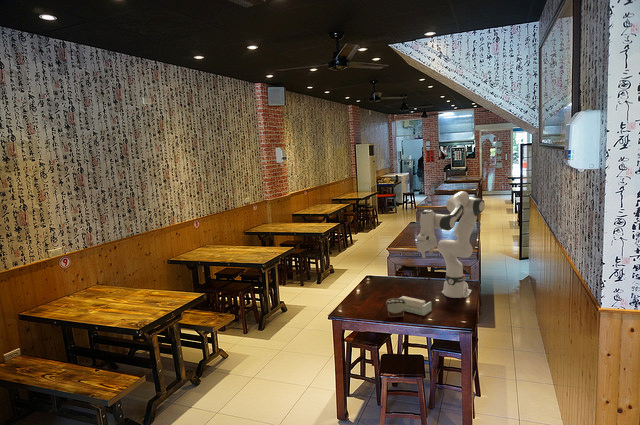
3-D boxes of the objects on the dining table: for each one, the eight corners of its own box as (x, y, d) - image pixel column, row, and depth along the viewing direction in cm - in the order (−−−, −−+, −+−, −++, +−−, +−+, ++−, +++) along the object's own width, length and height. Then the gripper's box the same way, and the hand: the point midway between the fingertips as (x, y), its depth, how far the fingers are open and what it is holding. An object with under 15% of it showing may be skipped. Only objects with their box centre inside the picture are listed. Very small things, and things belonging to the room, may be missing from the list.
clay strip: (404, 305, 283) (404, 296, 282) (425, 309, 273) (425, 300, 272) (401, 306, 280) (401, 298, 279) (422, 311, 270) (422, 302, 269)
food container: (403, 312, 272) (403, 297, 271) (406, 316, 266) (405, 300, 265) (384, 313, 272) (384, 298, 271) (386, 317, 266) (386, 301, 265)
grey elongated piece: (403, 304, 287) (403, 295, 286) (431, 310, 273) (431, 301, 272) (395, 308, 279) (395, 299, 279) (423, 315, 266) (423, 306, 265)
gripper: (430, 232, 284) (430, 252, 285) (415, 237, 268) (415, 259, 270) (439, 233, 279) (439, 253, 281) (424, 238, 264) (424, 260, 266)
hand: (427, 256), depth 276 cm, fingers open, 8 cm apart
